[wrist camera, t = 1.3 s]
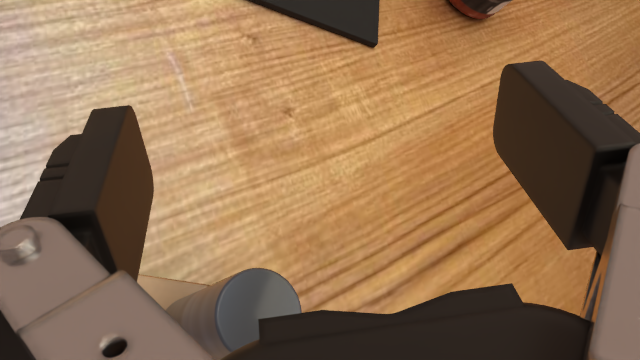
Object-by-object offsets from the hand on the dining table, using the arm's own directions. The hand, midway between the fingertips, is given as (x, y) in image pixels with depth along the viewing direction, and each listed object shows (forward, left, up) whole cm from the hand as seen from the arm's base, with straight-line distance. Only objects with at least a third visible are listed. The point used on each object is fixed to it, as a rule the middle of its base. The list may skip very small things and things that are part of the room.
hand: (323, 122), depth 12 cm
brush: (+1, -3, -17) cm, 17 cm away
